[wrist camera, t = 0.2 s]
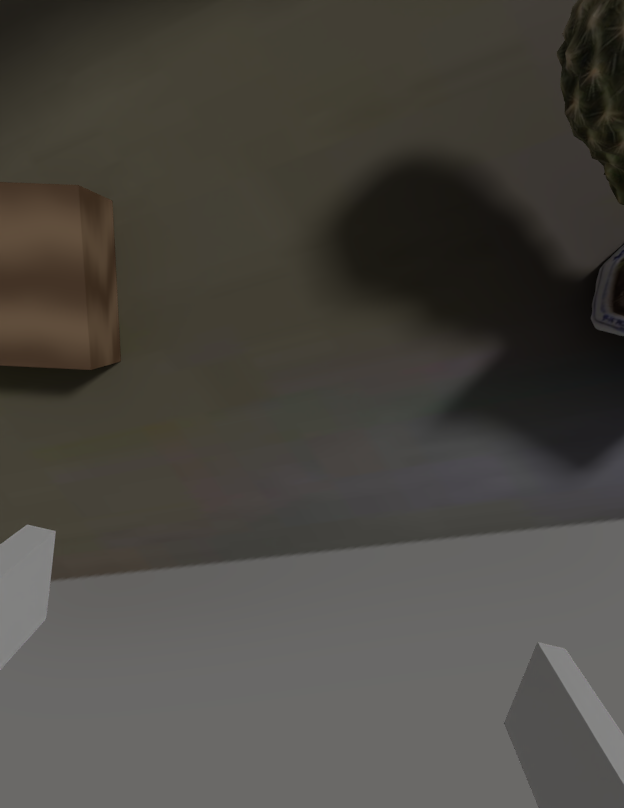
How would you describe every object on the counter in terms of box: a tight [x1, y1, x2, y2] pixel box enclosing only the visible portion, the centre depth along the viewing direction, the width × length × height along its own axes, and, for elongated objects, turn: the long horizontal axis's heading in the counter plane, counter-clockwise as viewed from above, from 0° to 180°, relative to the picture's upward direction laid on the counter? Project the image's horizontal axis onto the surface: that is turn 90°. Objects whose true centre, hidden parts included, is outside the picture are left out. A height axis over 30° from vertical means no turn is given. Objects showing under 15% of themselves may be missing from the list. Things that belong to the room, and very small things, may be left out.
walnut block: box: [0, 182, 121, 370], centre depth 35 cm, size 13×13×5 cm
